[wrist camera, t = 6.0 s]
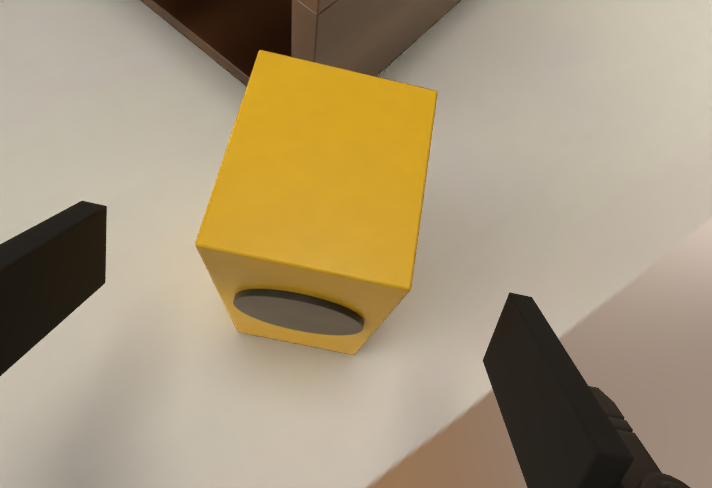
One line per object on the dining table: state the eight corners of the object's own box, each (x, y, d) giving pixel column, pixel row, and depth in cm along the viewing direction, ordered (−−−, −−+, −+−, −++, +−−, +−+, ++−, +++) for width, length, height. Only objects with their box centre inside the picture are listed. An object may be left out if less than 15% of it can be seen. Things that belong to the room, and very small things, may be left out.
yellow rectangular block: (236, 337, 24) (190, 253, 13) (271, 204, 27) (260, 42, 16) (354, 360, 24) (410, 299, 13) (376, 227, 27) (439, 84, 16)
